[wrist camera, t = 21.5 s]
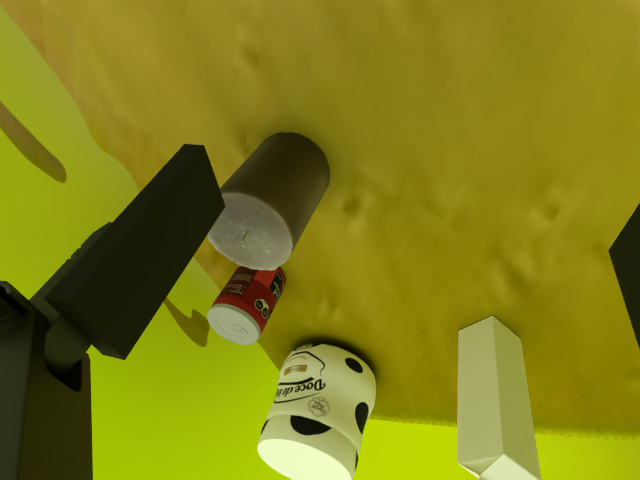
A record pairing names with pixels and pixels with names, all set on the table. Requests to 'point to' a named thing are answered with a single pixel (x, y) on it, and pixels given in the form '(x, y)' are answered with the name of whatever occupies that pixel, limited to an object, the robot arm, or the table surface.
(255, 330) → the canned food
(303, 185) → the pillar candle
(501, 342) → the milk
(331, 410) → the milk container
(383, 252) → the table surface
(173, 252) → the robot arm
